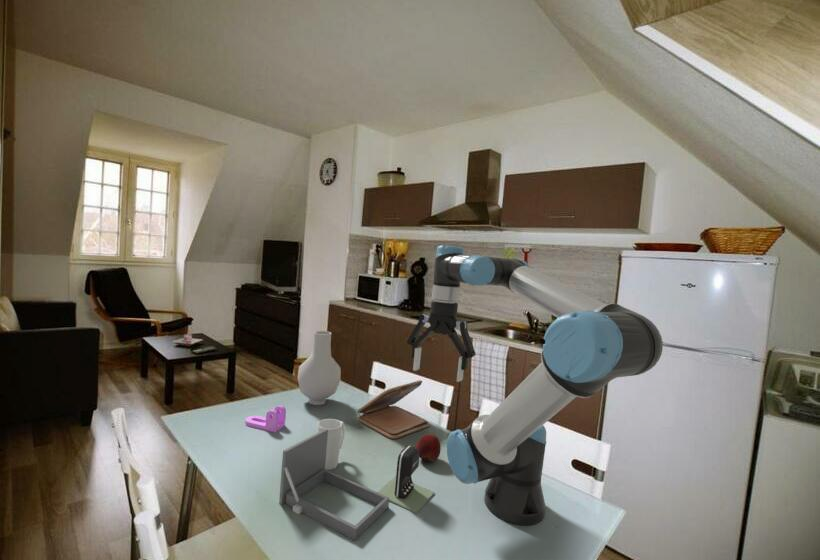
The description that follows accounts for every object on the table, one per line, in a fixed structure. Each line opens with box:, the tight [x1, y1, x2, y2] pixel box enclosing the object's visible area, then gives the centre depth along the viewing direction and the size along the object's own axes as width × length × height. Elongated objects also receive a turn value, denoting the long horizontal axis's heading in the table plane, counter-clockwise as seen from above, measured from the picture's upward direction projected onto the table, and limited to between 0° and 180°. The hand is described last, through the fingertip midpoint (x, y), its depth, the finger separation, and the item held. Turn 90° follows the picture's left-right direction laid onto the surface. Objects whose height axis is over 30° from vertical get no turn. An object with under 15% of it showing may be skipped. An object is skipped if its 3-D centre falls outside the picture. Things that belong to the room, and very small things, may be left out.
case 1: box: [278, 429, 390, 541], centre depth 96 cm, size 22×15×13 cm
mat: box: [377, 475, 435, 514], centre depth 103 cm, size 12×10×1 cm
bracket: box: [244, 404, 287, 433], centre depth 134 cm, size 13×6×7 cm, turn 74°
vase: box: [297, 330, 342, 406], centre depth 157 cm, size 17×16×28 cm
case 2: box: [356, 379, 430, 440], centre depth 145 cm, size 20×21×16 cm
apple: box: [415, 433, 442, 462], centre depth 121 cm, size 7×8×8 cm
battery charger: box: [395, 445, 420, 498], centre depth 103 cm, size 7×4×11 cm, turn 156°
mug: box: [316, 418, 346, 471], centre depth 114 cm, size 10×7×12 cm, turn 149°
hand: (437, 375), depth 112 cm, fingers open, 13 cm apart
